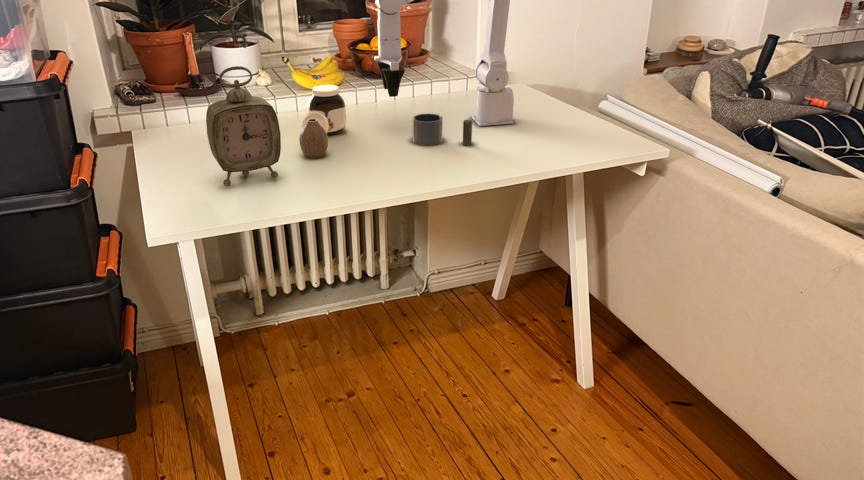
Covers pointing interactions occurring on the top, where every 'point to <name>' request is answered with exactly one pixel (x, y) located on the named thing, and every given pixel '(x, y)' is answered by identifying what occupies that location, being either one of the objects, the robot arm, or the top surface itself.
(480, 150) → the top surface
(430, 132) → the grey plastic cup
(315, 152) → the vase
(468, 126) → the grey upright block
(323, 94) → the spread jar
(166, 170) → the top surface
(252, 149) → the tabletop clock
